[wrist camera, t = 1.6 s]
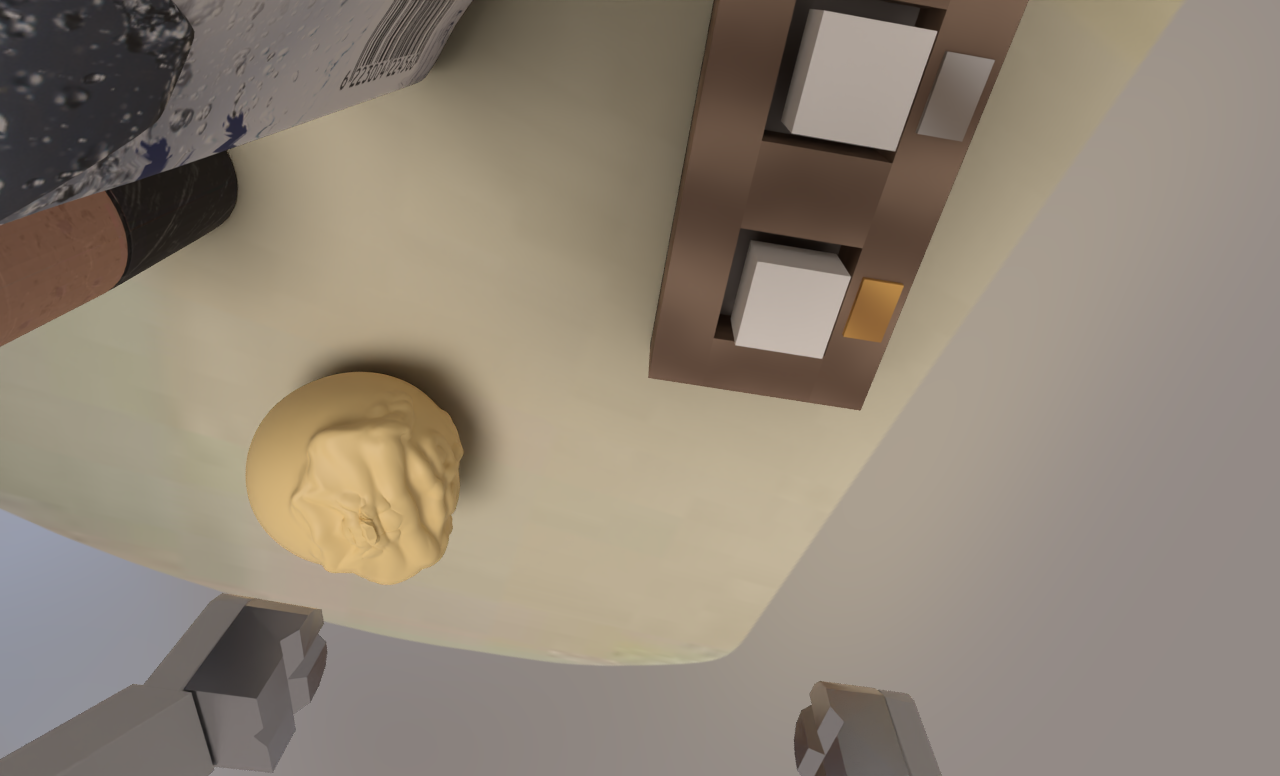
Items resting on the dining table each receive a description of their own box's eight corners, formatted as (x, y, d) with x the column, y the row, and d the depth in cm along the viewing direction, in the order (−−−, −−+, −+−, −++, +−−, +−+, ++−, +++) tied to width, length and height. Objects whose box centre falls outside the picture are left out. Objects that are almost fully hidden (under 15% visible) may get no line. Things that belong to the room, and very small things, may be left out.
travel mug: (260, 147, 33) (-169, 307, 16) (223, 262, 37) (-161, 492, 20) (106, 55, 31) (-568, 128, 14) (83, 186, 35) (-481, 371, 18)
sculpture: (497, 485, 45) (453, 611, 36) (335, 493, 46) (252, 617, 37) (458, 341, 39) (392, 448, 30) (273, 354, 40) (154, 461, 31)
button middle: (809, 8, 26) (824, 10, 24) (912, 27, 27) (937, 31, 24) (780, 120, 29) (791, 133, 26) (875, 137, 29) (895, 151, 26)
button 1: (750, 239, 32) (757, 261, 29) (836, 254, 32) (851, 276, 29) (730, 318, 34) (735, 345, 31) (810, 331, 34) (821, 358, 32)
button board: (803, -483, 21) (830, -581, 18) (1140, -409, 22) (1234, -489, 18) (650, 343, 38) (648, 380, 35) (843, 374, 39) (861, 413, 35)
